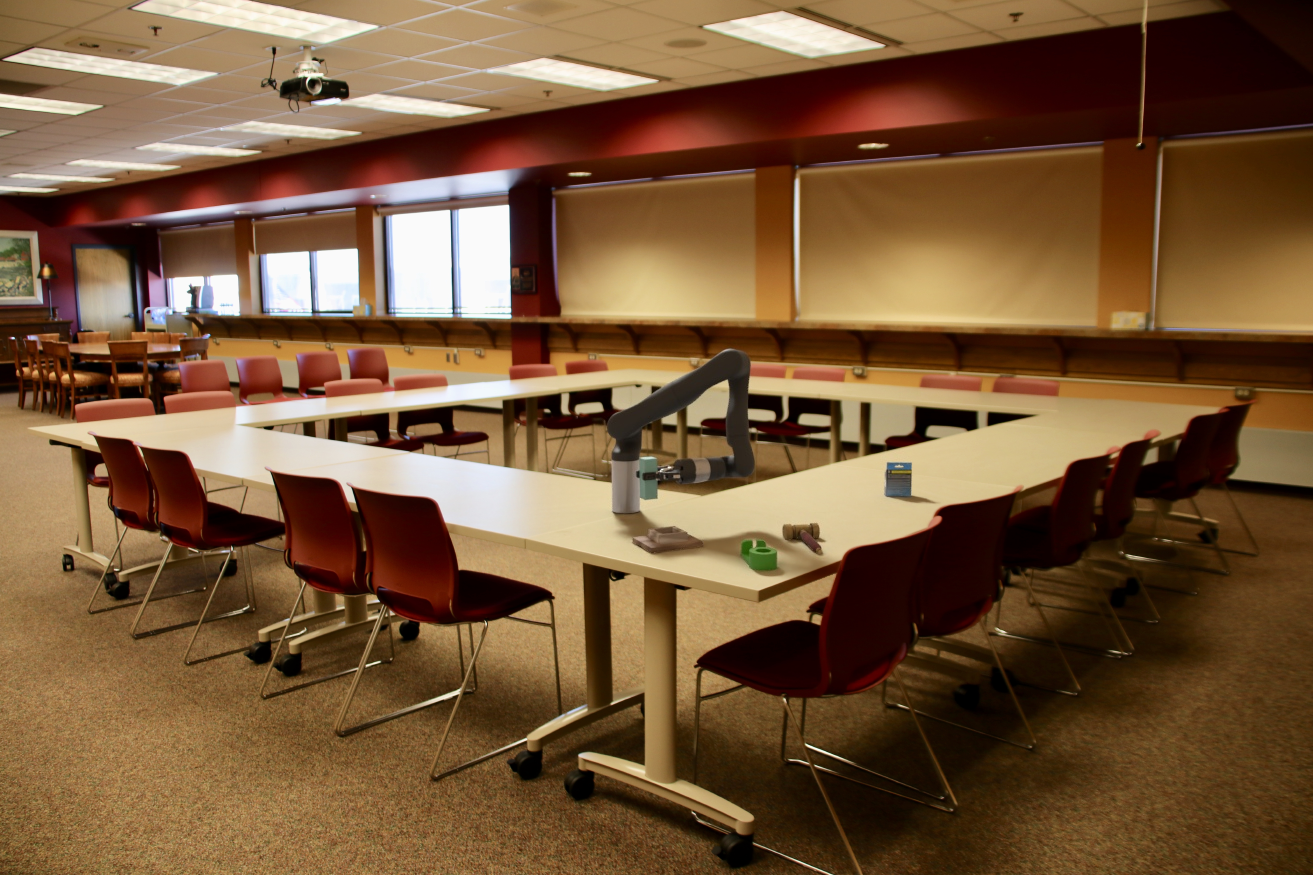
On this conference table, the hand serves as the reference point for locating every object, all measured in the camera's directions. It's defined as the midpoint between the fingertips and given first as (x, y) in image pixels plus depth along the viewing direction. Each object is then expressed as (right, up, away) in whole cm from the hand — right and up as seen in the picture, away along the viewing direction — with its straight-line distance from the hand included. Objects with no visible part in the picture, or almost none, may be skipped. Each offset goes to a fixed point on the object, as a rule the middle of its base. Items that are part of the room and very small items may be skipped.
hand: (639, 475), depth 264 cm
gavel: (+48, -20, -10) cm, 53 cm away
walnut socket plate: (+8, -19, -8) cm, 22 cm away
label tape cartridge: (+90, -10, +56) cm, 107 cm away
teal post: (+3, -7, +2) cm, 8 cm away
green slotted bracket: (+32, -22, -27) cm, 47 cm away
